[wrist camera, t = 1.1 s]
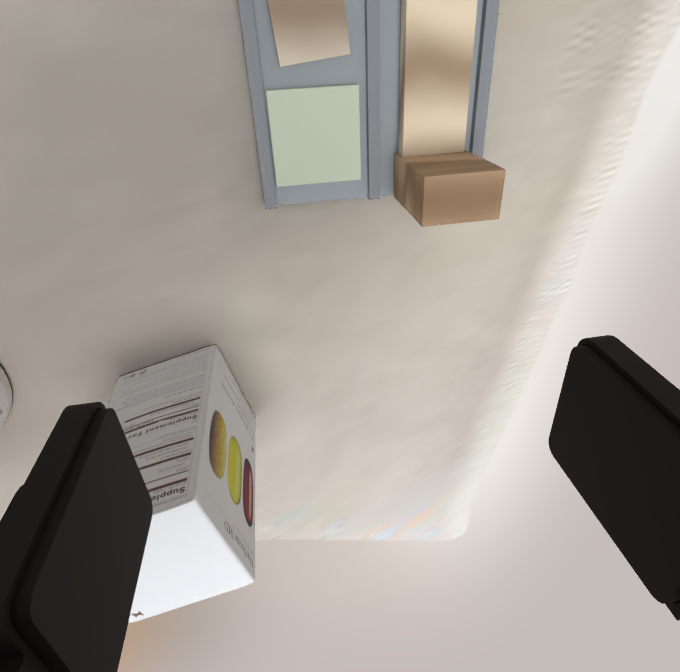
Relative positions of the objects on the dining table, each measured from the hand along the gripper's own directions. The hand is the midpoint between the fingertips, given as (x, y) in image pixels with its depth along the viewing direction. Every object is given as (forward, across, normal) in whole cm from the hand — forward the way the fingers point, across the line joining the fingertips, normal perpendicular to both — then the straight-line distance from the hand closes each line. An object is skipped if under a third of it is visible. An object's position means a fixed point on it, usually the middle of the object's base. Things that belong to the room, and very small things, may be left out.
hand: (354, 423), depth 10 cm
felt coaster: (+28, -2, -1) cm, 28 cm away
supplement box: (+28, +11, +20) cm, 36 cm away
